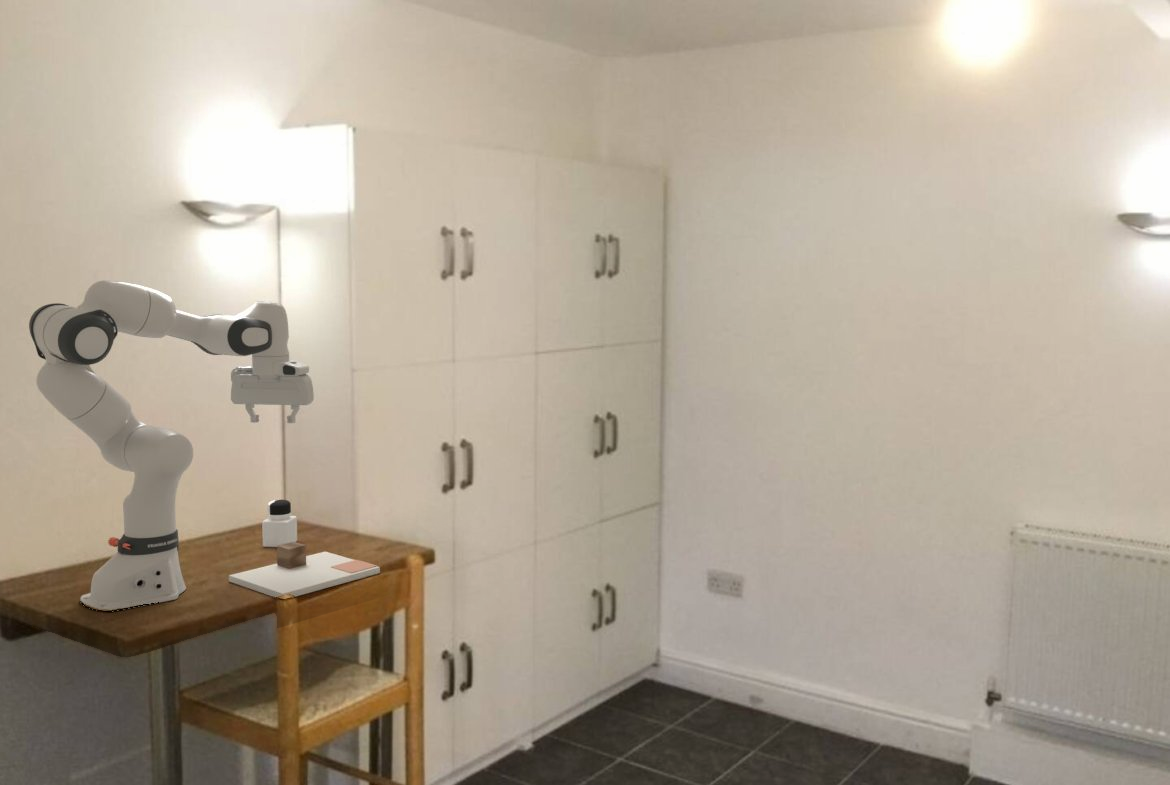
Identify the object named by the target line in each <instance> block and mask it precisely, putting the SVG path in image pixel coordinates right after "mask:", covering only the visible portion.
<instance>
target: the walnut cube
mask: <svg viewBox="0 0 1170 785" xmlns="http://www.w3.org/2000/svg"><path fill="white" fill-rule="evenodd" d="M306 556H307V545H306V544H303V543H300V542H297V541H296V542H290V543H286V544H282V545H278V546H277V547H276V560H277V561H276V564H277V565H278V566H281V567H284V568H287V569H292V568H295V567H299V566H303V565H306Z"/></svg>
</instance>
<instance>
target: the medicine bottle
mask: <svg viewBox="0 0 1170 785" xmlns="http://www.w3.org/2000/svg"><path fill="white" fill-rule="evenodd" d="M291 505H292V504H291V501H289V500H287V499H274V500H271V501H269V502H267V518H266V519H264V520H263V521H262V522H261V524H262V525H261V527H262V528H261V530H262V531H261V532H262V547H264V548H277V546H278V545H282V544H286V543H290V542H297V541H298V516H296V515H292V506H291Z"/></svg>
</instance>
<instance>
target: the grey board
mask: <svg viewBox="0 0 1170 785" xmlns="http://www.w3.org/2000/svg"><path fill="white" fill-rule="evenodd" d="M380 572H381V567H380V566H378V565H376V564H373V563H369V562H366V561H364V560H363V561H362V560H360V559H353V558H349V557H345V556H343V555H339V554H335V553H331V552H329V551H322V552H317V553H314V554H309V555H306V565H303V566H299V567H295V568H292V569H287V568H284V567H281V566H278V565H277V563H273V564H269V565H266V566H261V567H257V568H252V569H249V570H245V571H241V572H237V573H233V574H229V575H228V581H229V583H233V584H235V585H238V586H241V587H244V588H247V589H250V590H253V591H254V592H259V593H261V594H264V595H267V596H269V597H274V598H276V597H278V596H281V595H287V594H291V595H294V596H295V597H299V596H303V595H306V594H307V595H308V594H310V593H314V592H317V591H321V590H323V589H327V588H330V587H331V588H332V587H335V586H338V585H339V586H340V585H341V584H345V583H350V582H352V581H355V580H361V579H364V578H367V577H370V576H374V575H378V574H381V573H380ZM295 597H294V598H295ZM276 599H277V598H276Z"/></svg>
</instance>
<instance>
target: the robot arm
mask: <svg viewBox="0 0 1170 785" xmlns="http://www.w3.org/2000/svg"><path fill="white" fill-rule="evenodd" d="M28 323H29V324H28V329H29V334H30V337H31V339H32V341H33V343H34V346H35V349H36V353H37V355H38V357H39V358H41V359H43V360H45V363H44V364H43V365H42V367H41V368H40V369H39V371H38V373H37V375H36V385H37V386H36V387H37V389H38V391H39V392H40V393H41V394H42V395H43V397H44V398H45V399H46V400H47V401H48V402H49V404H50V405H51V406H52V407H53V408H54V409H55V410H56V411H58V412H59V413H60V414H61V415H62V416H63V417H65V418H66V419H67V420H68V421H69V422H70V423H72V424H73V425H75V427H77V428H78V429H79V430H81V432H83V433H84V434H86V435H87V436H88V437H89V438H90V439H91V440H92V441H93V442H94V443H95V445H97V447H98V448H99V449H100V454H101V456H102V458H103V459H104V460H105V461H106V462H107V463H108V464H110V465H112V466H114V468H117V469H119V470H122V471H125V472H126V471H127V472H130V473H134V478H133V479H134V480H133V483H132V484H133V485H132V488H131V491H130V493H129V494H127V496H126V497H125V498H124V500H123V503H122V509H123V510H122V511H123V513H122V514H123V530H124V531H123V532H124V533H123V534H122V536H121V538H120V539H119V537H118V538H116V537H114V536H112V537H111V536H110V538H108V540H107V543H108V545H109V546H111V547H114V548H117V550H116V551H117V552H116V553H115V554H114V555H112V556H111V557H110V559H108V560H107V561H106V562H105V563H104V564H103V565H102V566H101V567H99V569H98V570H96V571H95V572H94V573H93V575H92V580H91V584H90V592H88V593H85V594H82V595H81V596H80V601H82V602H83V603H84V604H86V605H89V606H91V607H94V608H98V609H108V610H112V609H117V608H125V607H130V606H136V605H143V604H149V605H152V604H151V603H154V604H158V602H159V603H164V602H169V601H173V600H177V599H178V598H179V596H180V595H181V594H183V592H185V590H186V589H187V586H186V584H185V580H184V578H183V574H182V571H181V566H180V561H179V560H180V559H179V553H178V552H179V546H180V545H179V530H178V529H177V527H176V526H177V525H176V496H177V491H178V490H177V489H178V486H179V483H180V480H181V477H182V475H183V474H184V472H186V471H187V470H188V468H189V467H190V466H191V464H192V462H193V458H194V448H193V444H192V442H191V441H190V439H188V437H186V436H185V435H183V434H181V433H179V432H177V431H175V430H173V429H170V428H166V427H165V428H164V427H160V426H159V427H158V426H153V425H149V424H146V423H145V422H143V421H141V420H139V418H137V417H136V416H135V414H134V413H133V411H132V406H131V404H130V402H129V400H127V398H125V397H124V396H123V395H122V394H121V393H120V392H118V391H117V390H116V389H115V388H114V387H113V386H111V385H110V384H109V383H108V382H107V381H106V380H104V379H103V377H101V376H99V374H97V373H96V372H95V370H93V369H92V367H91V365H95V364H97V363H99V362H101V361H103V360H104V359H105V358H106V357H107V356H108V355H109V353H110V351H111V349H112V347H113V344H114V341H115V339H116V338H117V336H118V333H122V334H126V335H131V336H134V337H135V336H136V337H141V338H150V339H162V338H164V337H165V336H169V337H173V338H176V339H179V340H180V339H181V340H184V341H188V342H190V343H193V344H194V345H196V346H197V347H198V348H199V349H200V350H201V351H203V352H205V353H207V354H208V355H212V356H220V355H221V356H223V355H224V356H231V357H232V356H233V357H248V356H251V360H252V361H251V362H252V363H251V364H252V365H251V366H236V368H233V369H232V370H231V373H230V381H231V386H230V400H231V402H232V403H233V404H234V405H245V411H246V412H247V413H248V415H249V417H250V423H255V424H256V423H259V422H260V419H259V418H260V415H259V414H256V412H255V411H254V408H255V405H256V406H257V405H262V406H263V405H265V406H266V405H267V406H269V405H271V406H272V405H273V406H290V409H291V410H292V411H291V413H290V414H289V415H287V416H286V423H287V424H295V423H296V416H297V414H298V412H299V410H300V409H301V408H300V407H301V406H308V405H311V404H312V403H313V401H314V396H315V395H314V386H313V381H312V378H311V377H310V375H308V374H309V372H310V366H309V365H308V364H305V363H303V362H299V361H297V360H293V359H291V358H290V352H289V348H288V343H289V342H288V341H289V338H290V336H289V335H290V334H289V320H288V314H287V311H286V308H285V307H284V305H282V304H281V303H278V302H274V301H265V300H255V301H253V303H252V305H251V306H249V307H248V308H247V309H245V310H244V311H241V312H240V313H238V314H236V315H225V314H219V313H210V314H206V315H200V316H199V315H195V314H191V313H188V312H185V311H182V310H177V308H176V304H175V302H174V300H173V299H172V298H171V297H170V296H169V295H168V294H165V293H164V292H161V291H159V290H156V289H154V288H150V287H147V286H143V285H140V284H135V283H129V282H125V281H124V282H123V281H116V280H99V281H96V282H94V283H93V284H92V285H91V286H89V288H88V289H87V291H86V293H85V294H84V298H83V301H82V303H80V305H78V306H77V307H74V306H70V305H68V304H65V303H57V302H56V303H48V304H45V305H42V306H40V307H39V308H37V309H36V310H34V312H33V313H32V315H31V316H30V319H29V322H28ZM143 606H144V605H143Z"/></svg>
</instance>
